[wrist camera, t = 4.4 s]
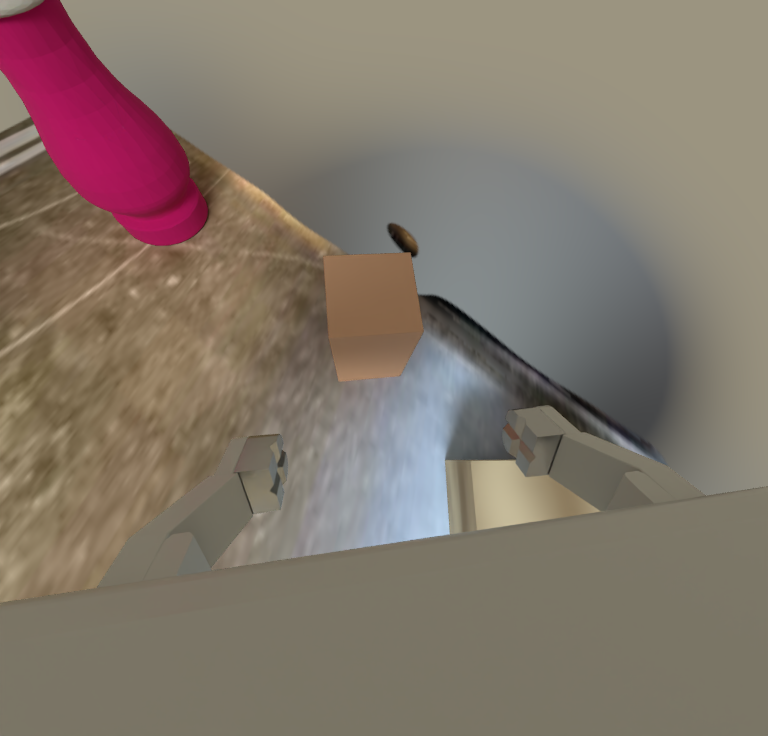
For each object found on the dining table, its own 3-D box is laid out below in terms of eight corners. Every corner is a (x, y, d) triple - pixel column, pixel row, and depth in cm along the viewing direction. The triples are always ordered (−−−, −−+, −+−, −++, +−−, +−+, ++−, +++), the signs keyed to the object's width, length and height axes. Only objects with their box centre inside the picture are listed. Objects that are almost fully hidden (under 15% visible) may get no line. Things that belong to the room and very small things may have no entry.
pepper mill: (163, 268, 22) (-946, -818, 3) (98, 217, 23) (-1089, -892, 4) (233, 212, 24) (-199, -653, 5) (172, 167, 25) (-393, -725, 6)
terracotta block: (338, 381, 21) (328, 338, 13) (334, 324, 22) (323, 255, 15) (400, 376, 22) (423, 331, 14) (392, 321, 23) (410, 252, 15)
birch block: (455, 635, 17) (492, 702, 13) (443, 459, 20) (470, 460, 16) (610, 625, 18) (699, 684, 14) (578, 458, 21) (642, 459, 16)
